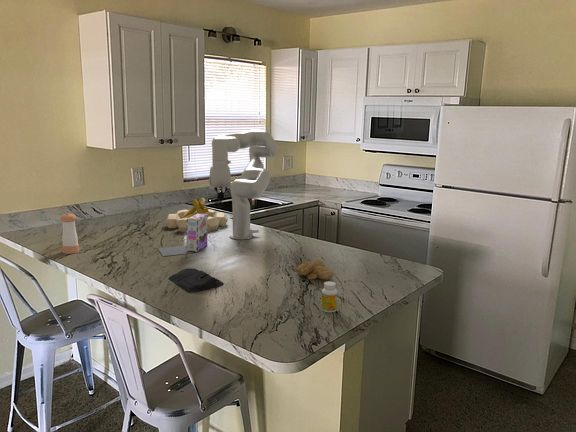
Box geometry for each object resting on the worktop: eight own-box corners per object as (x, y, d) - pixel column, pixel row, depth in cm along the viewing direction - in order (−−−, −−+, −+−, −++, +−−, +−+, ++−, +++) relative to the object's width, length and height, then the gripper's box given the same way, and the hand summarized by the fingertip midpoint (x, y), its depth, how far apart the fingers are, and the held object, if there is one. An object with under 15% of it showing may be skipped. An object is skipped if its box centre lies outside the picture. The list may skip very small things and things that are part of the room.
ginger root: (293, 267, 210) (297, 250, 208) (328, 276, 210) (333, 259, 208) (291, 280, 195) (297, 262, 193) (329, 290, 195) (335, 272, 193)
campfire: (238, 226, 288) (237, 198, 284) (192, 237, 263) (191, 206, 259) (200, 217, 311) (200, 191, 307) (155, 226, 286) (154, 197, 282)
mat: (185, 246, 244) (185, 245, 244) (192, 253, 232) (192, 252, 232) (157, 248, 238) (157, 248, 238) (163, 256, 226) (163, 255, 226)
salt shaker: (73, 254, 227) (69, 214, 223) (59, 253, 229) (55, 213, 225) (82, 250, 234) (79, 211, 230) (69, 249, 236) (65, 210, 232)
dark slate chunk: (199, 272, 207) (198, 261, 206) (226, 287, 190) (226, 275, 189) (165, 279, 197) (165, 268, 196) (191, 295, 180) (190, 283, 179)
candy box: (197, 252, 233) (197, 219, 229) (186, 251, 234) (186, 218, 230) (207, 245, 246) (208, 213, 243) (196, 244, 247) (197, 212, 244)
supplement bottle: (319, 311, 167) (320, 284, 165) (323, 305, 172) (324, 279, 170) (334, 313, 165) (335, 287, 163) (338, 308, 170) (339, 281, 168)
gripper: (232, 162, 242) (232, 198, 246) (203, 163, 236) (203, 199, 240) (237, 163, 236) (237, 200, 239) (207, 164, 230) (208, 202, 233)
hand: (220, 200), depth 240 cm, fingers closed
